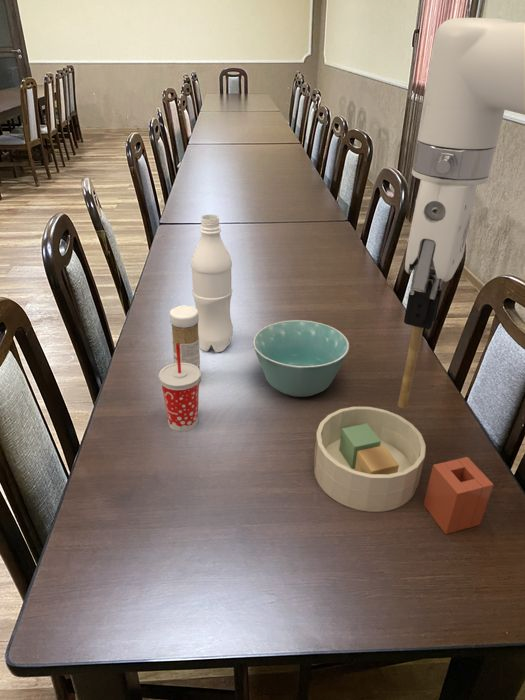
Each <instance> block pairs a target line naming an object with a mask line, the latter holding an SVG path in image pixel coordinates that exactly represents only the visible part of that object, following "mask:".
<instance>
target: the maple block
mask: <svg viewBox="0 0 525 700" xmlns="http://www.w3.org/2000/svg"><path fill="white" fill-rule="evenodd" d="M398 468H399V464H398V463H397V462H396V460H395V459H394V458H393V456H392V455H391V454H390V453H389V451H388V450H387V449H386V447H385V446H384V445H383V446H379V447H374V448H369V449H365V450H360V451H357V458H356V465H355V471H359V472H363V473H368V474H387V475H388V474H392V473H397V472H398Z"/></svg>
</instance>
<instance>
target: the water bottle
mask: <svg viewBox="0 0 525 700" xmlns="http://www.w3.org/2000/svg"><path fill="white" fill-rule="evenodd" d="M200 224H201V225H200V228H199V232H200V240H199V241H198V244H197V246H196V247H195V250H194V252H193V254H192V256H191V261H190V268H191V278H192V279H191V280H192V291H191V293H192V297H193V300H194V305H195V308H196V309H197V310H198V315H199V321H198V336H199V349H200V350H202V351H204V352H208V351H209V350H210V348H211V347H212V349H213V351H214V353H220V352H223V351H225V350H226V348H227V347H229V346H230V344H231V342H232V340H233V337H234V326H233V325H234V324H233V322H232V317H231V299H232V295H233V288H232V267H233V262H232V257H231V254H230V253H229V251H228V249H227V247H226V246H225V244H224V242H223V240H222V238H221V232H222V230H221V225H220V217H219V216H218V215H216V214H205V215H202V216H200Z"/></svg>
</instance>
